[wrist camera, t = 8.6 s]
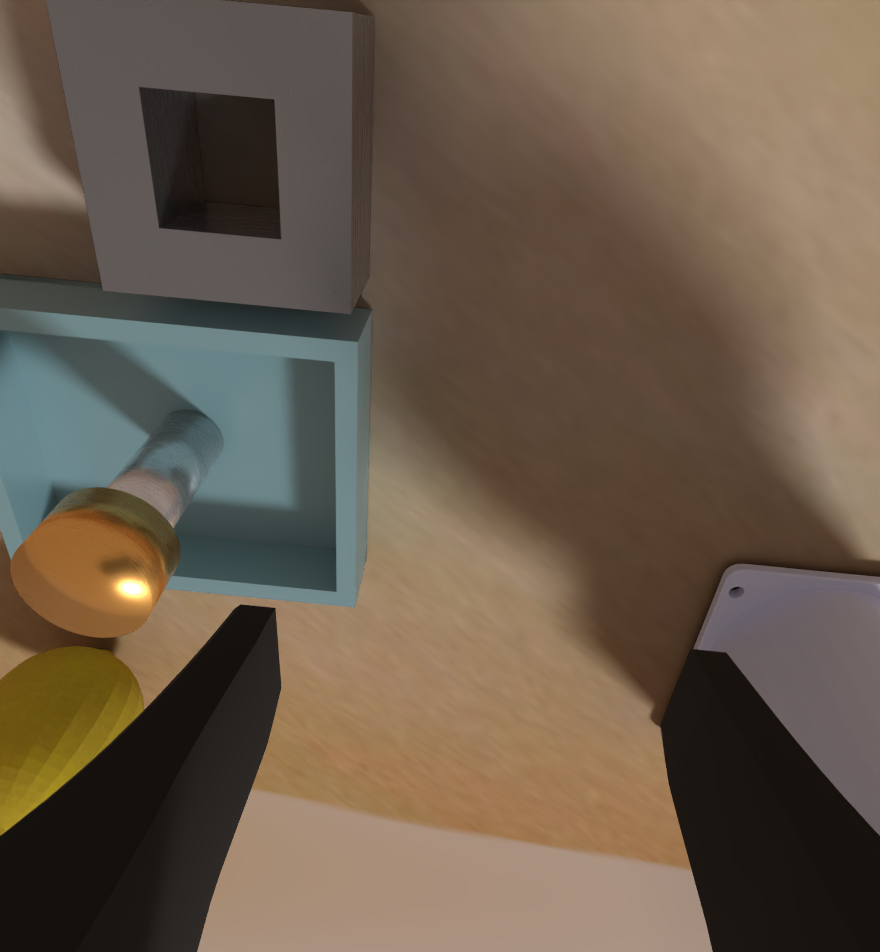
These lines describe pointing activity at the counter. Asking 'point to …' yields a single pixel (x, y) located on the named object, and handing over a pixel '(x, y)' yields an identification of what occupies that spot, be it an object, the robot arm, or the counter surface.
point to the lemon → (59, 721)
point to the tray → (211, 393)
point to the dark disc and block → (178, 154)
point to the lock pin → (118, 535)
